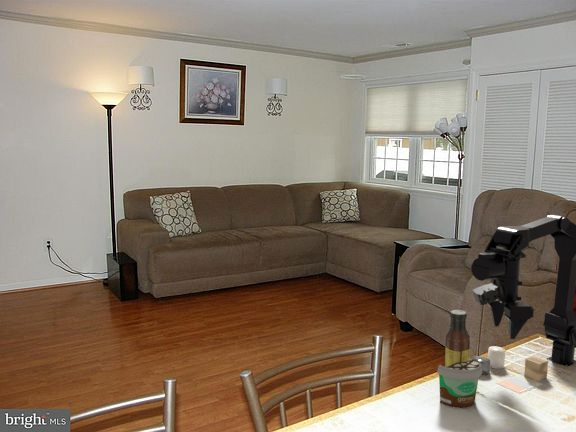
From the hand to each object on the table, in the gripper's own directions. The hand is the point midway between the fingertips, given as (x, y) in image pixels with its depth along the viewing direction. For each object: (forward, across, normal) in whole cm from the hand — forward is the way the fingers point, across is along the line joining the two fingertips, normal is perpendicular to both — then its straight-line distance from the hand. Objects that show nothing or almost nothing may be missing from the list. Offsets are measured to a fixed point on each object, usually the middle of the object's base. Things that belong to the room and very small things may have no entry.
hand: (504, 332), depth 140 cm
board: (+13, +3, +5) cm, 14 cm away
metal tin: (+13, -4, -4) cm, 15 cm away
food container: (+13, +13, -16) cm, 24 cm away
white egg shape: (+13, -7, +2) cm, 15 cm away
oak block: (+13, 0, +9) cm, 16 cm away
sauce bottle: (+13, +2, -14) cm, 19 cm away
